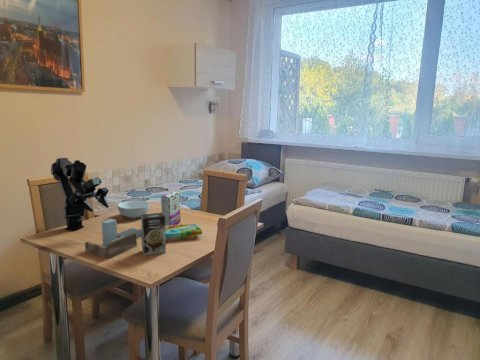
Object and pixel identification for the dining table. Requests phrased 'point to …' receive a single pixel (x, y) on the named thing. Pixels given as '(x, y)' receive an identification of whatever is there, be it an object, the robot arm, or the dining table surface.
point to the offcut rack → (113, 246)
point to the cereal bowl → (133, 208)
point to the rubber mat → (130, 232)
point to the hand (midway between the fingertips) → (100, 209)
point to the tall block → (109, 231)
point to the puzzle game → (182, 231)
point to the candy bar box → (171, 208)
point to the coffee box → (153, 233)
